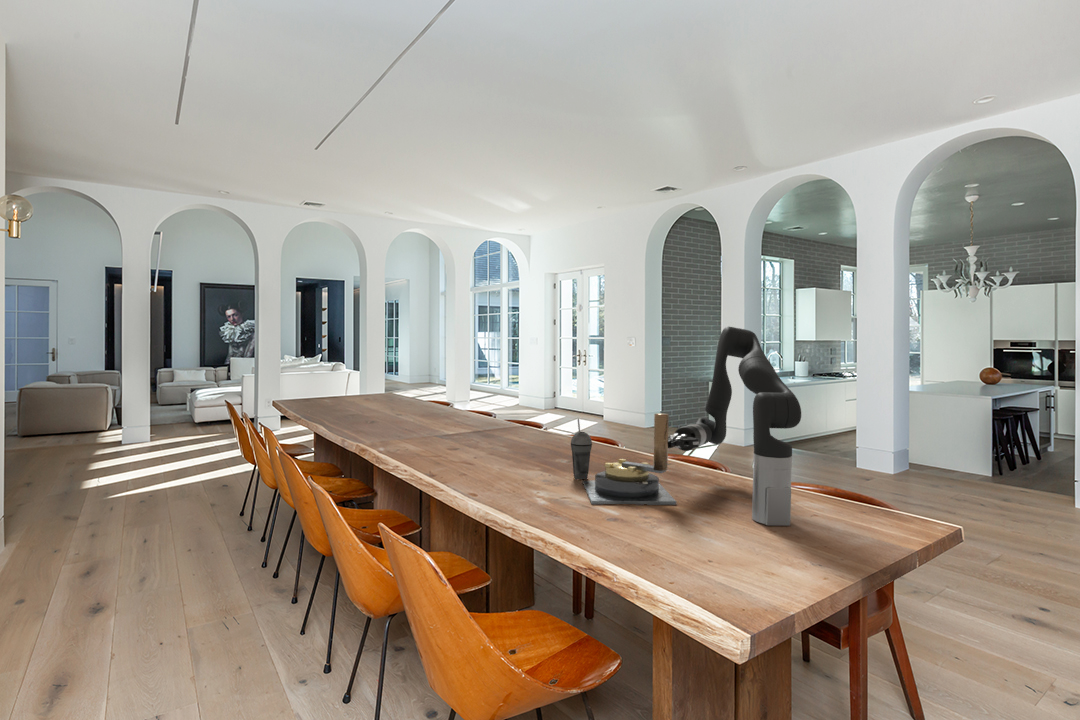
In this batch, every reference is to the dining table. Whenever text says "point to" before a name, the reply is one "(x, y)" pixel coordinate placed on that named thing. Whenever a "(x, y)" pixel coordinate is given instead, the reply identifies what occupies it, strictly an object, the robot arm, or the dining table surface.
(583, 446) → the beverage cup
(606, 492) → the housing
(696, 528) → the dining table surface
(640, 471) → the brass crank handle
